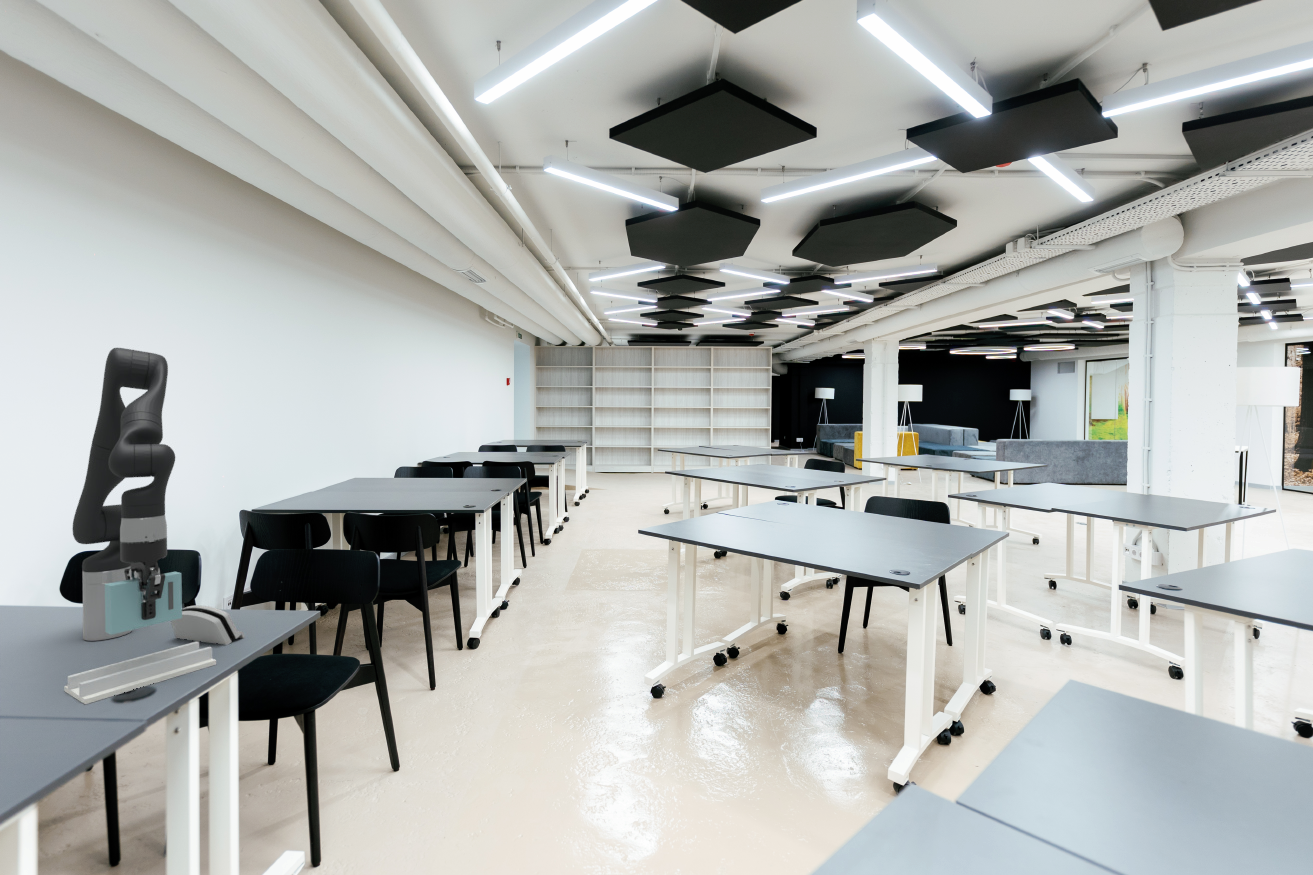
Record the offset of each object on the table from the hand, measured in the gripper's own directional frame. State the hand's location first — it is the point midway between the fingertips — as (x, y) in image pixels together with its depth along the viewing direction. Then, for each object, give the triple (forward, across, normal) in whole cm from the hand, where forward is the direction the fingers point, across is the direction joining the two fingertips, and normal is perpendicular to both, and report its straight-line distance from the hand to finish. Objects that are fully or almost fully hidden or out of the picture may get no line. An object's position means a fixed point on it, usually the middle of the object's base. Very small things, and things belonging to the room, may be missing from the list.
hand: (145, 617), depth 125 cm
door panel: (+2, 0, 0) cm, 2 cm away
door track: (+13, 0, 0) cm, 13 cm away
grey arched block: (+13, -14, +17) cm, 26 cm away
